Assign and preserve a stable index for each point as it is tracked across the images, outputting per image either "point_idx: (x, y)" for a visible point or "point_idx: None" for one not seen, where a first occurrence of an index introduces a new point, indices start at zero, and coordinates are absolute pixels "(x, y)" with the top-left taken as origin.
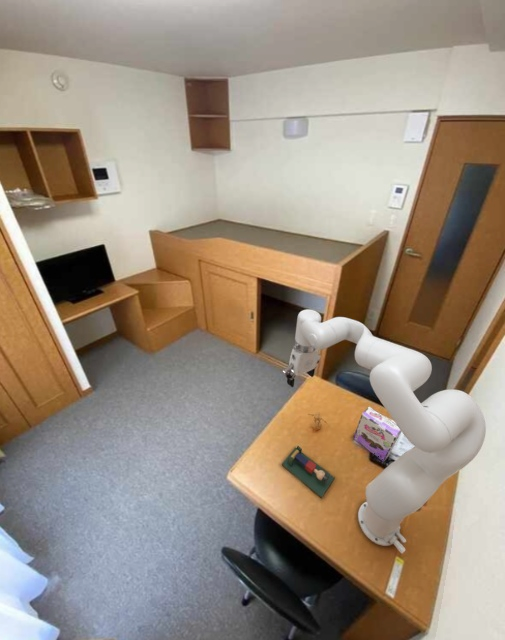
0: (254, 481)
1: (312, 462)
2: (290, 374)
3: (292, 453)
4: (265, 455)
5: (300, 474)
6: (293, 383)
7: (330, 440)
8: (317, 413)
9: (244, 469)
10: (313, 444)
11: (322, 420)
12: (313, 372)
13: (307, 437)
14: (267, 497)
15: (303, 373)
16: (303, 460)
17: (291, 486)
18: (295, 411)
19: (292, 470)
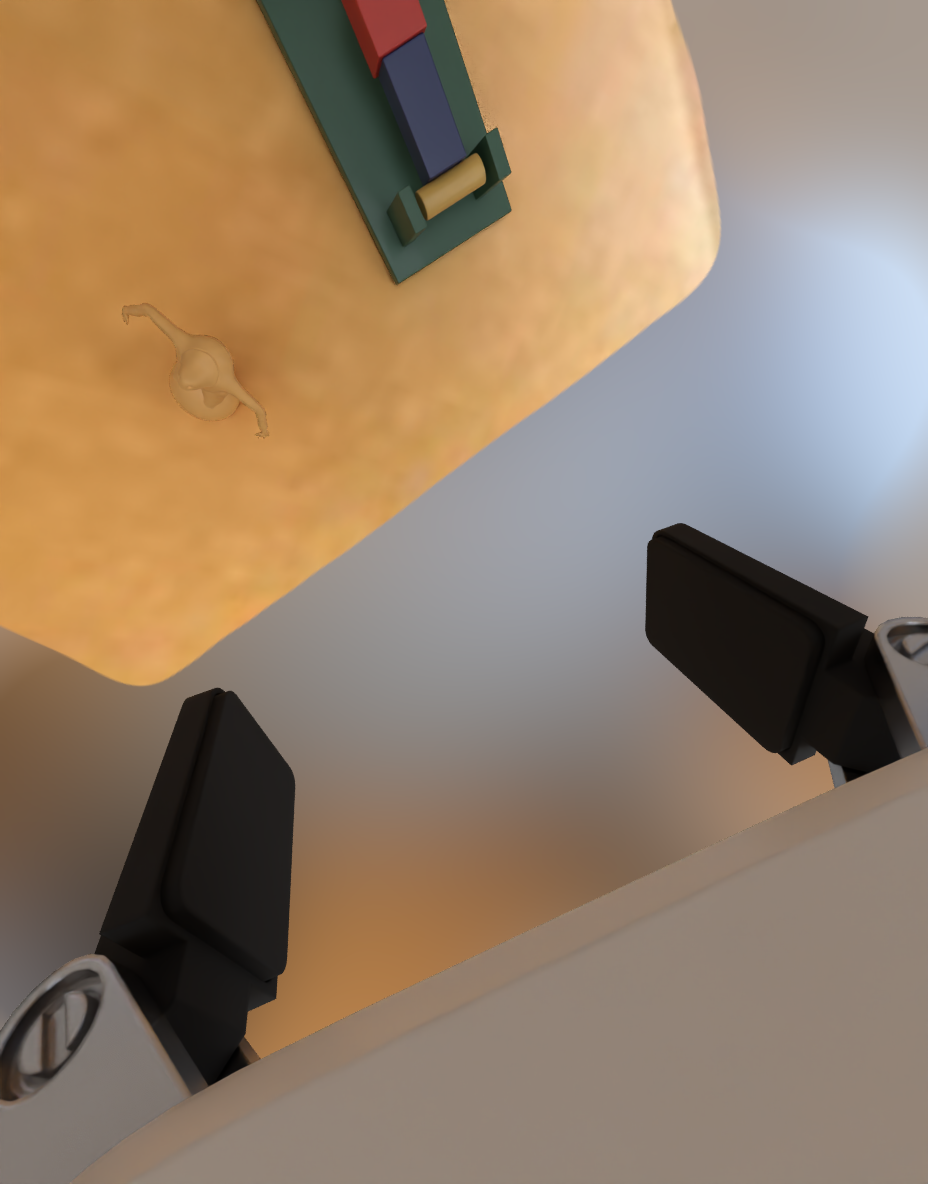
0: (659, 186)
1: (364, 15)
2: (837, 760)
3: (431, 248)
4: (554, 313)
5: (440, 64)
6: (740, 564)
7: (129, 247)
8: (199, 379)
9: (666, 278)
10: (270, 268)
11: (165, 316)
12: (172, 803)
13: (294, 334)
14: (651, 45)
15: (906, 845)
16: (422, 84)
17: (511, 31)
18: (310, 522)
19: (475, 126)
